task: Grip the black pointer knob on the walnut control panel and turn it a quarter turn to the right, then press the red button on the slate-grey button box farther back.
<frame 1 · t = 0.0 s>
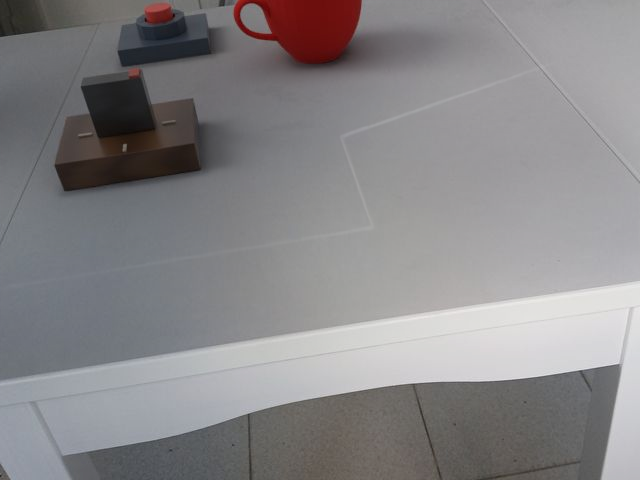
ceramic cup: (304, 59, 94), on the table
dial panel: (135, 155, 78), on the table
pointer knob: (119, 102, 74), point 6 cm above the table, hinge at 0.0°
button box: (167, 47, 101), on the table
button: (158, 13, 98), point 4 cm above the table, slide at 0.1 cm
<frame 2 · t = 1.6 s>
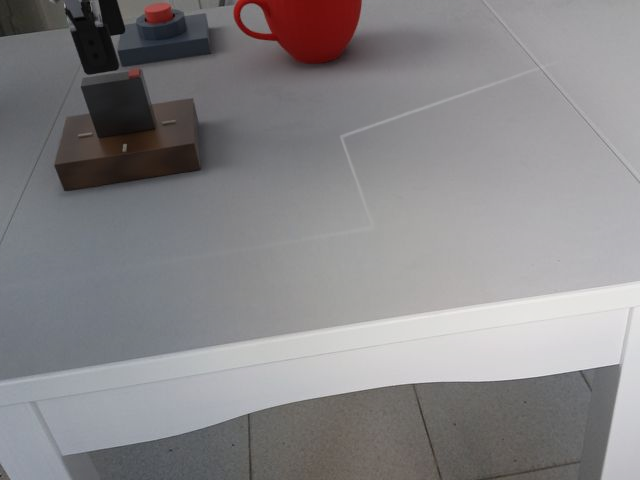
hand: (107, 52, 71), 11 cm above the table, tool pointing down, fingers open, 9 cm apart
nothing on the table moved.
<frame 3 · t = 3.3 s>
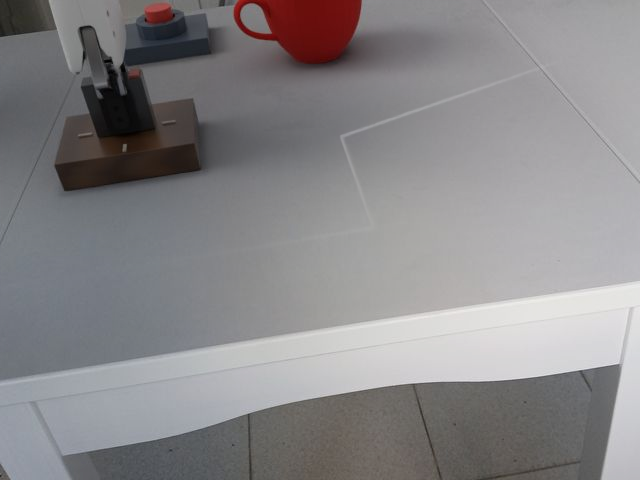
hand: (125, 124, 76), 4 cm above the table, tool pointing down, fingers closed on pointer knob, 2 cm apart
pointer knob: (119, 102, 74), point 6 cm above the table, hinge at 0.0°, touching gripper
everything else where it was.
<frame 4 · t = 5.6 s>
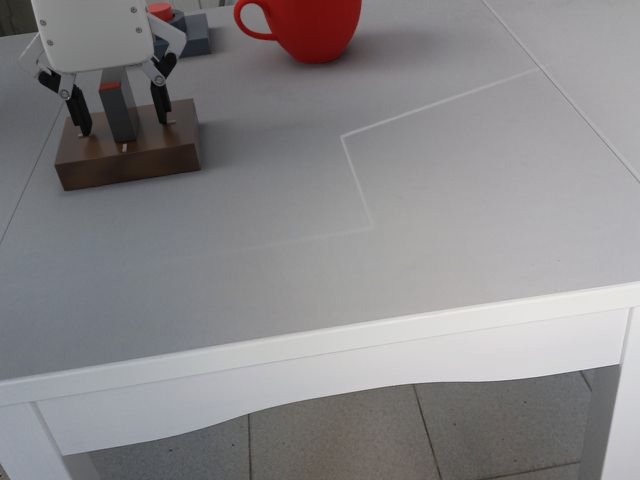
hand: (125, 123, 76), 4 cm above the table, tool pointing down, fingers open, 7 cm apart
pointer knob: (119, 102, 74), point 6 cm above the table, hinge at -89.9°
everything else where it was.
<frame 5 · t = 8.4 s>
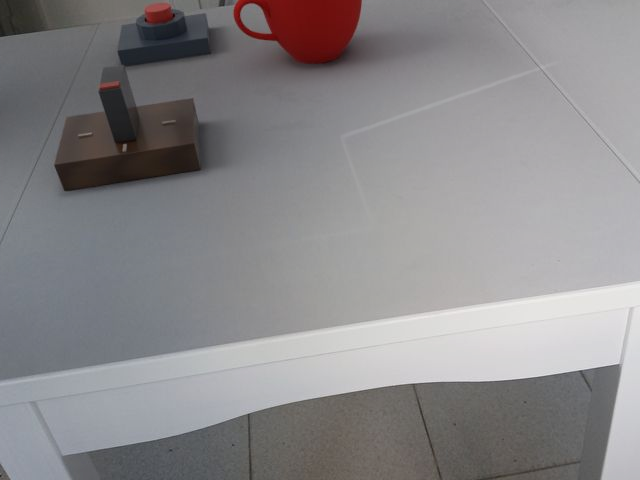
nothing on the table moved.
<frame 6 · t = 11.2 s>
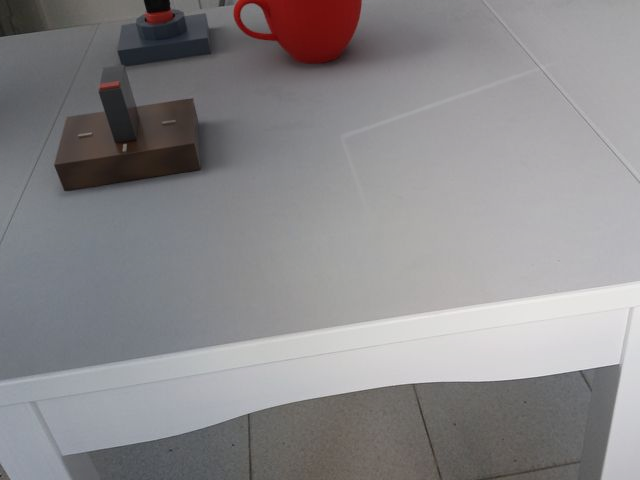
hand: (159, 9, 98), 5 cm above the table, tool pointing down, fingers closed
button: (159, 17, 98), point 4 cm above the table, slide at -0.3 cm, touching gripper
everything else where it was.
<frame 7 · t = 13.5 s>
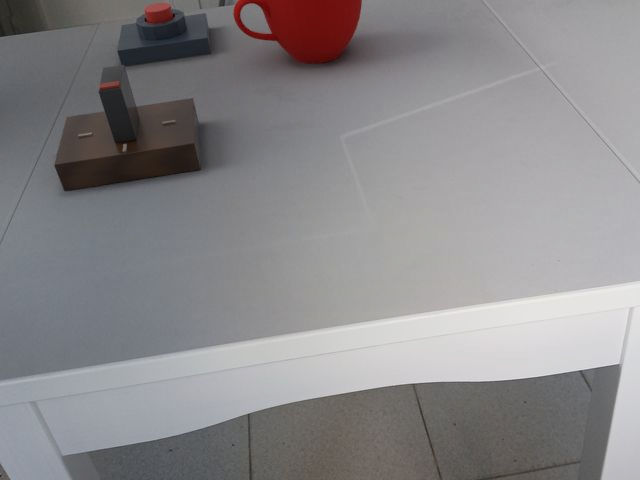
button: (158, 13, 98), point 4 cm above the table, slide at 0.1 cm
everything else where it was.
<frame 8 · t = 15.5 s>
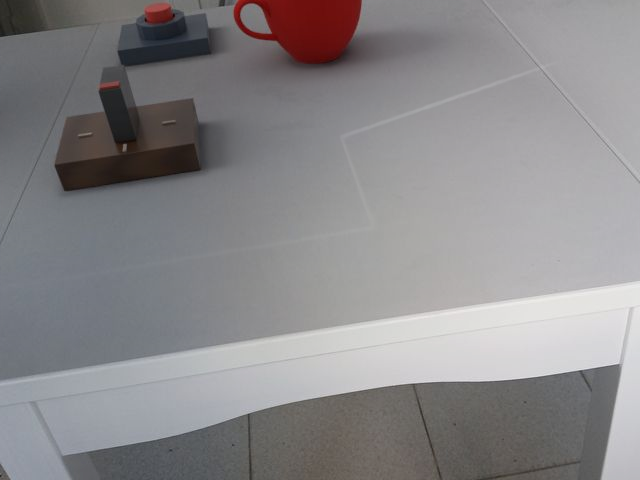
nothing on the table moved.
at the end: pointer knob at -90° (first picture: +0°); button pushed in 1.1 cm at the most during the clip, back to where it started at the end; button slide at 0.1 cm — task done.
